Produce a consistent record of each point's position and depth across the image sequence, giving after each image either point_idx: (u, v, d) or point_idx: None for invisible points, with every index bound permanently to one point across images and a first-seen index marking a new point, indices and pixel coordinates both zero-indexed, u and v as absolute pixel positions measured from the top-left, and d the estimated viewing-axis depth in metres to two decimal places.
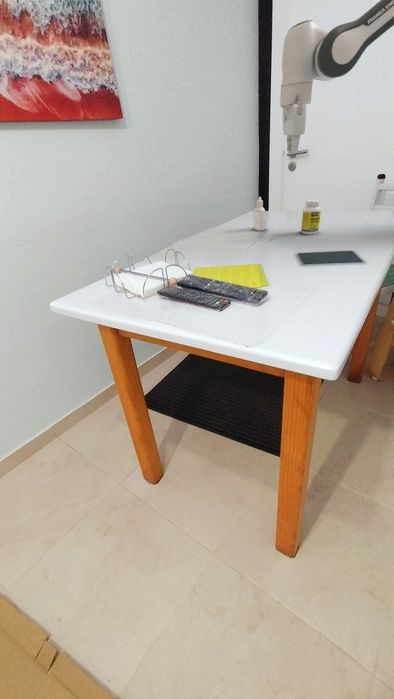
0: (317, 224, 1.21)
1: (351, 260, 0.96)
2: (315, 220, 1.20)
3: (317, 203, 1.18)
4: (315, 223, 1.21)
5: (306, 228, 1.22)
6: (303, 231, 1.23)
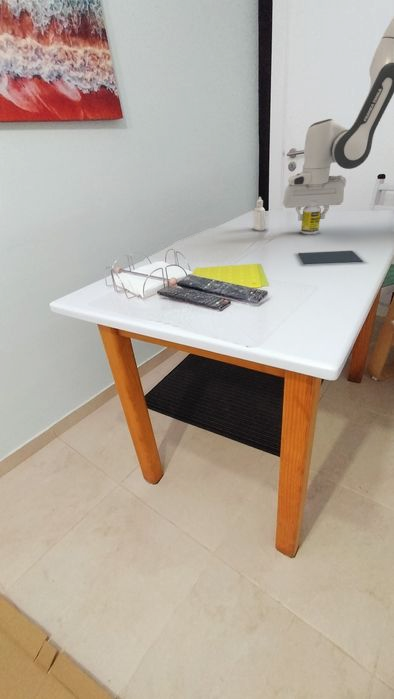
0: (317, 224, 1.21)
1: (351, 260, 0.96)
2: (315, 220, 1.20)
3: (317, 203, 1.18)
4: (315, 223, 1.21)
5: (306, 228, 1.22)
6: (303, 231, 1.23)
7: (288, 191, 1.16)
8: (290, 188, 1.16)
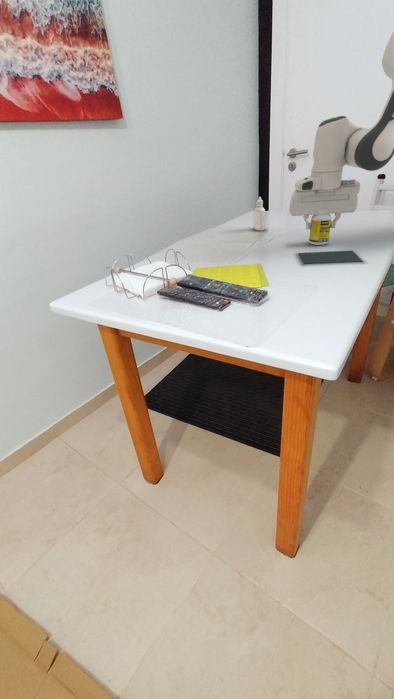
0: (327, 234, 1.08)
1: (351, 260, 0.96)
2: (325, 229, 1.07)
3: (327, 210, 1.05)
4: (325, 233, 1.08)
5: (314, 238, 1.09)
6: (311, 241, 1.11)
7: (295, 197, 1.04)
8: (297, 194, 1.03)
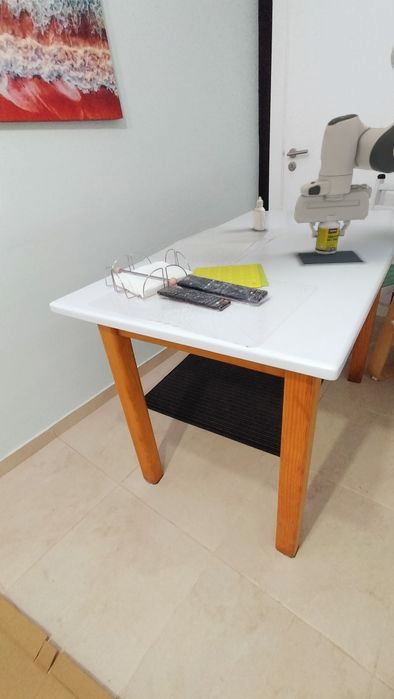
0: (335, 242, 1.00)
1: (351, 260, 0.96)
2: (333, 237, 0.98)
3: (336, 217, 0.96)
4: (333, 241, 0.99)
5: (321, 247, 1.01)
6: (318, 251, 1.02)
7: (300, 203, 0.95)
8: (303, 199, 0.94)
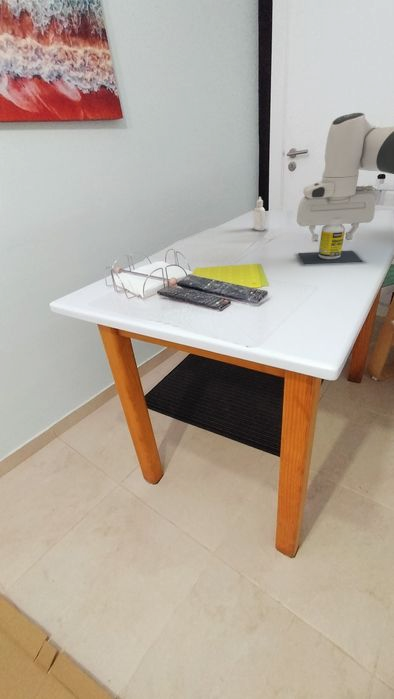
0: (340, 247, 0.96)
1: (351, 260, 0.96)
2: (337, 242, 0.95)
3: (340, 221, 0.93)
4: (337, 246, 0.95)
5: (325, 251, 0.97)
6: (321, 255, 0.98)
7: (304, 206, 0.91)
8: (306, 202, 0.90)
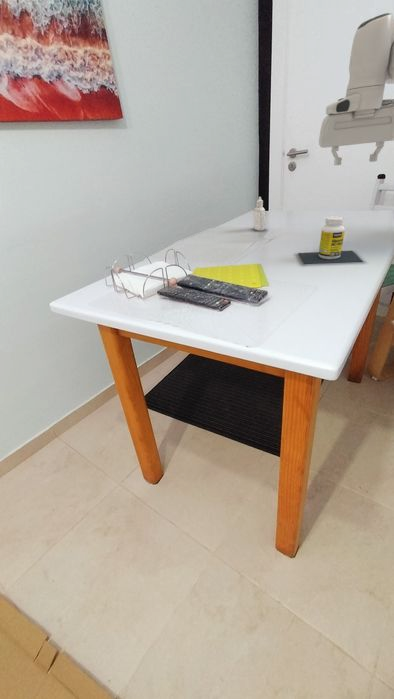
0: (340, 247, 0.96)
1: (351, 260, 0.96)
2: (337, 242, 0.95)
3: (340, 221, 0.93)
4: (337, 246, 0.95)
5: (325, 251, 0.97)
6: (321, 255, 0.98)
7: (327, 123, 0.88)
8: (330, 118, 0.87)
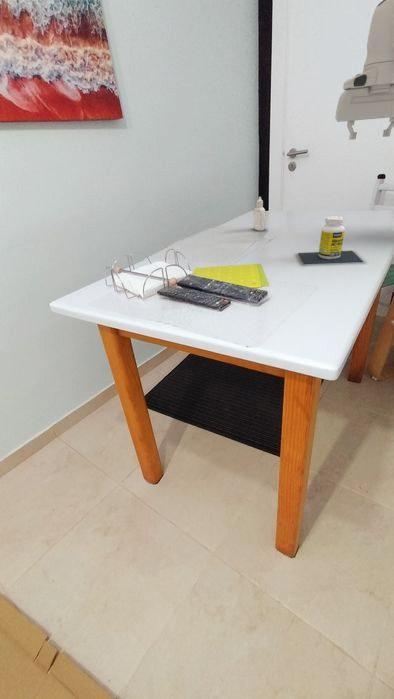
0: (340, 247, 0.96)
1: (351, 260, 0.96)
2: (337, 242, 0.95)
3: (340, 221, 0.93)
4: (337, 246, 0.95)
5: (325, 251, 0.97)
6: (321, 255, 0.98)
7: (345, 97, 0.93)
8: (347, 92, 0.92)
